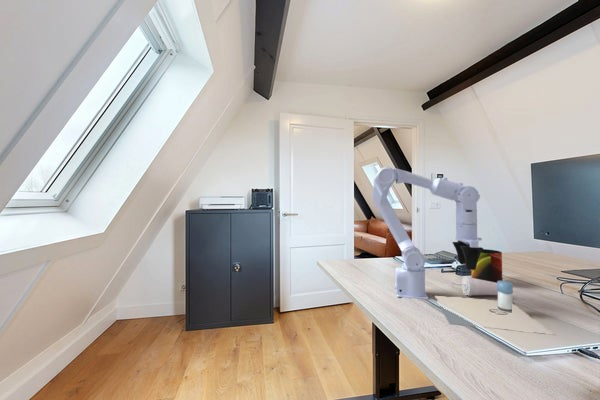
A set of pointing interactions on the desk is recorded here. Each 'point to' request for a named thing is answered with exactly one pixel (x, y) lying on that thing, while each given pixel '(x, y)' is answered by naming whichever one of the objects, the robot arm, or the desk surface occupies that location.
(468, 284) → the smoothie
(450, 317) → the desk mat
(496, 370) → the desk surface
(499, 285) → the marker
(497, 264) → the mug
